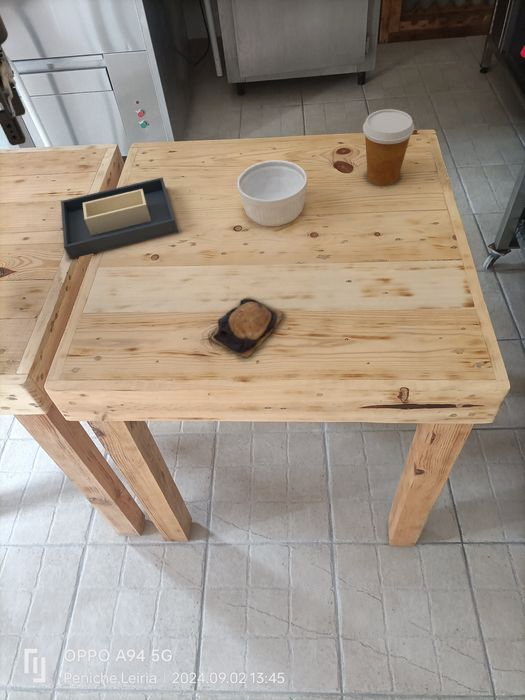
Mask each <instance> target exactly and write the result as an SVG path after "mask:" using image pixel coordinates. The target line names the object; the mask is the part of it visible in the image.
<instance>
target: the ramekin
mask: <svg viewBox="0 0 525 700" xmlns="http://www.w3.org/2000/svg"><path fill="white" fill-rule="evenodd" d="M236 187H237V193H238V195H239V197H240V200H241V202H242V206H243V208H244V213H245V214H246V216H247V217H248V218H249V219H250V220H251V221H253V222H254V223H255V224H258V225H261V226H264V227H278V226H279V227H280V226H283V225H286V224H289V223H292V221H294V220H296V218H298V216H300V215H301V213H302V211H303V210H304V206H305V201H306V192H307V191H306V190H307V187H308V177H307V173H306V171H305V170H304V169H303V168H302V167H301V166H299V165H298V164H296V163H295V162H291V161H287V160H279V159H272V160H265V161H261V162H258V163H255V164H253V165H250V166H249V167H247V168H245V170H243V171H242V172H241V173H240V174H239V177H238V179H237V182H236Z"/></svg>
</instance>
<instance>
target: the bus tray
mask: <svg viewBox="0 0 525 700" xmlns="http://www.w3.org/2000/svg"><path fill="white" fill-rule="evenodd" d="M140 189H143V192H144V196H145V199H146V202H147V205H148V210H149V214H150V218H151V221H149V222H145V223H141V224H137V225H133V226H129V227H125V228H121V229H117V230H113V231H108V232H104V233H100V234H96V235H92V236H91V233H90V231H89V229H88V226H87V224H86V222H85V219H84V211H83V203H85V202H89V201H93V200H97V199H101V198H106V197H110V196H114V195H118V194H123V193H127V192H131V191H135V190H140ZM168 194H169V193H168V191H167V187H166V183H165V181H164V178H163V176H162V177H157V178H152V179H149V180H144V181H141V182H136V183H133V184H128V185H124V186H120V187H115V188H111V189H106V190H102V191H98V192H94V193H89V194H85V195H80V196H77V197H73V198H68V199H64V200H60V209H61V223H62V224H61V225H62V237H63V248H64V251H65V252H66V254H67V256H68V258H69V260H72V259H76V258H80V257H81V258H82V257H84V256H88V255H92V254H97V253H100V252H104V251H107V250H108V251H109V250H113V249H116V248H121V247H124V246H128V245H133V244H137V243H140V242H146V241H149V240H152V239H153V240H154V239H157V238H162V237H165V236H169V235H173V234H177V233H179V229H178V226H177V225H178V224H177V221H176V219H175V214H174V211H173V208H172V204H171V202H170V198H169V195H168Z"/></svg>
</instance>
